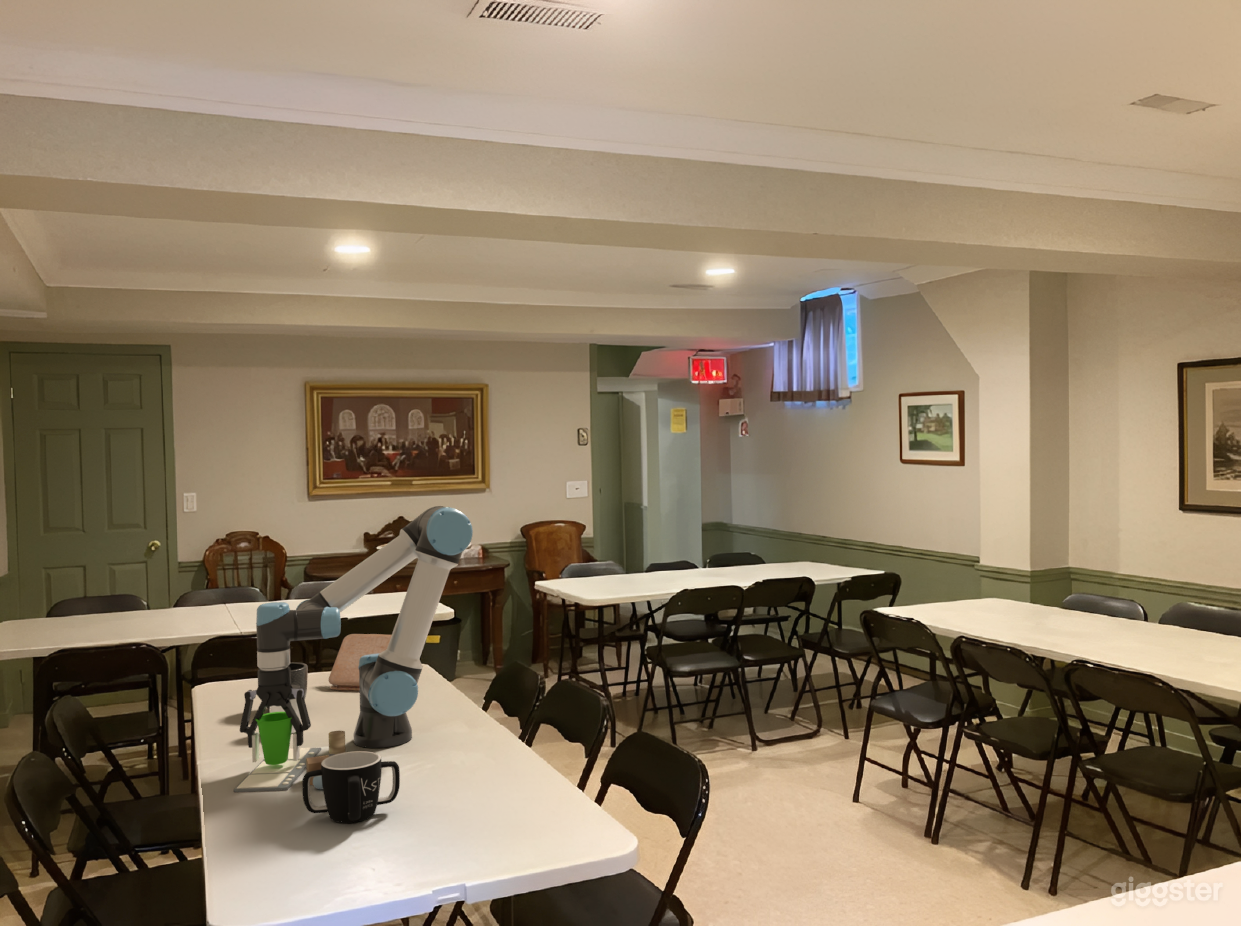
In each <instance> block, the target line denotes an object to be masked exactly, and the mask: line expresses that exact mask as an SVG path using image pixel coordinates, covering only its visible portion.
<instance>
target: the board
mask: <svg viewBox="0 0 1241 926" xmlns="http://www.w3.org/2000/svg"><path fill="white" fill-rule="evenodd" d="M299 749H300V757H299V759H298V760H297V761H293V747H292V748H291V747H289V753H288V759H287V761H286V762H285V763H282V764H278V765H268V764H266V762H265V760H264V759H263V760H262V761H260V763H259V764H257V766H256V767H255V768H254V769H252V771H251V772H250V773H249V774H247V776H246V777H245V778H244V779H243V780H241V782H239V784H238V785H236V786H235V788H234V789H233V792H234V793H245V792H246V793H247V792H269V791H275V792H277V791H288V790H289V789H290V788H291V786H292V785H293V784H294V783H295V782H296V781H297V780H298V778H299V777H300V776H301V775H302V773H303V772H304V771H305V770H307V768H306V758H310V757H318V755H319V753H320V752H321V751H322V747H299Z"/></svg>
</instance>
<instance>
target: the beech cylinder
mask: <svg viewBox="0 0 1241 926" xmlns="http://www.w3.org/2000/svg"><path fill="white" fill-rule="evenodd" d="M345 752H346V731H345V730H332V731H329V732H328V755H329V754H335V755H336V754H340V753H345Z"/></svg>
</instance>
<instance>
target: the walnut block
mask: <svg viewBox="0 0 1241 926" xmlns="http://www.w3.org/2000/svg"><path fill="white" fill-rule="evenodd" d="M328 757H329V754H328V755H327V754H326V755H320V756H319V755H317V756H316V757H310V758H306V773H307V772H310V771H315V770H320V769H321V763H322V761H323V760H324V759H326V758H328ZM313 778H314V777H311V778H310V786H314V785H313Z"/></svg>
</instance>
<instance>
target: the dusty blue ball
mask: <svg viewBox="0 0 1241 926" xmlns="http://www.w3.org/2000/svg"><path fill="white" fill-rule="evenodd" d="M312 786H314V788H316V789H317V790H323V787H322V776H316V777H314V778H313V785H312Z"/></svg>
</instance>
